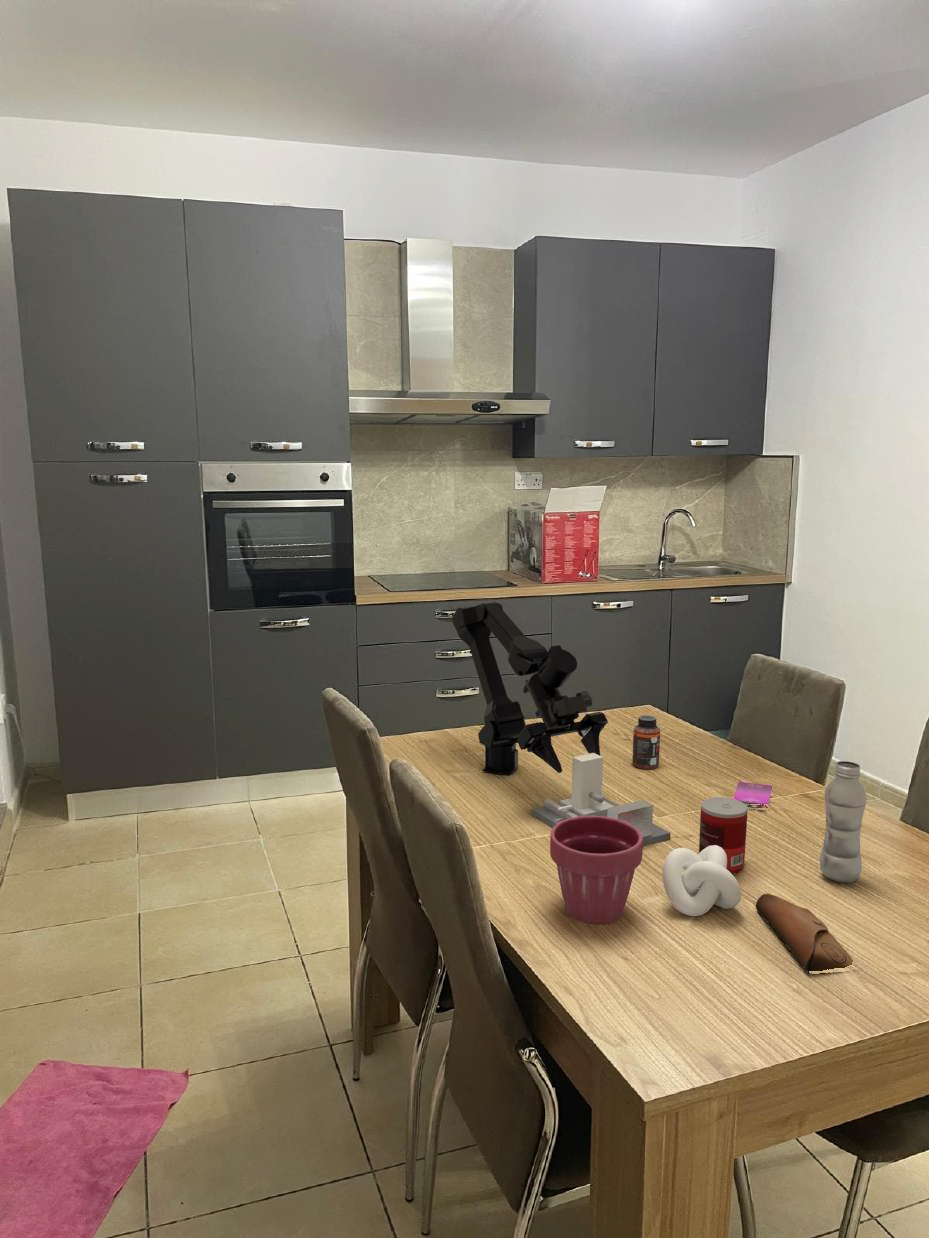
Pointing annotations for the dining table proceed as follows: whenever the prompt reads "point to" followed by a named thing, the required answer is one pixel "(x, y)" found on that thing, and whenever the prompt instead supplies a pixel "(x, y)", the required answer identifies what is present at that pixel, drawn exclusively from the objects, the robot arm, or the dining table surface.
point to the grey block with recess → (635, 815)
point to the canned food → (724, 829)
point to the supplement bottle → (646, 743)
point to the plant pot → (595, 865)
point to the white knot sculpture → (699, 880)
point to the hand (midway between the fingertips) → (580, 767)
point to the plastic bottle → (843, 824)
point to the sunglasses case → (803, 934)
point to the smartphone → (753, 794)
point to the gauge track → (554, 816)
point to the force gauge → (586, 787)
